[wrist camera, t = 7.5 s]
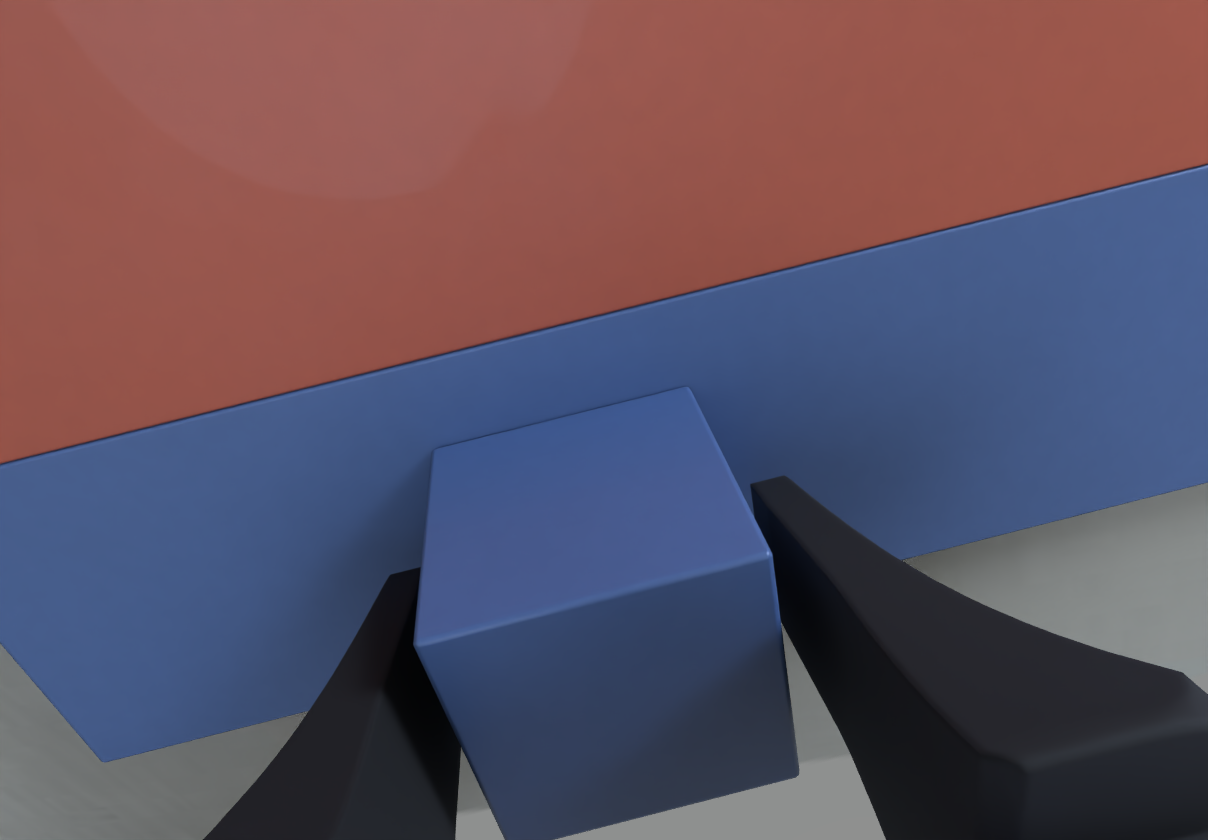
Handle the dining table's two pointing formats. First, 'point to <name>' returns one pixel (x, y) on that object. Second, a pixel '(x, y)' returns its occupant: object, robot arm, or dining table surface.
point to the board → (557, 290)
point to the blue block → (602, 619)
